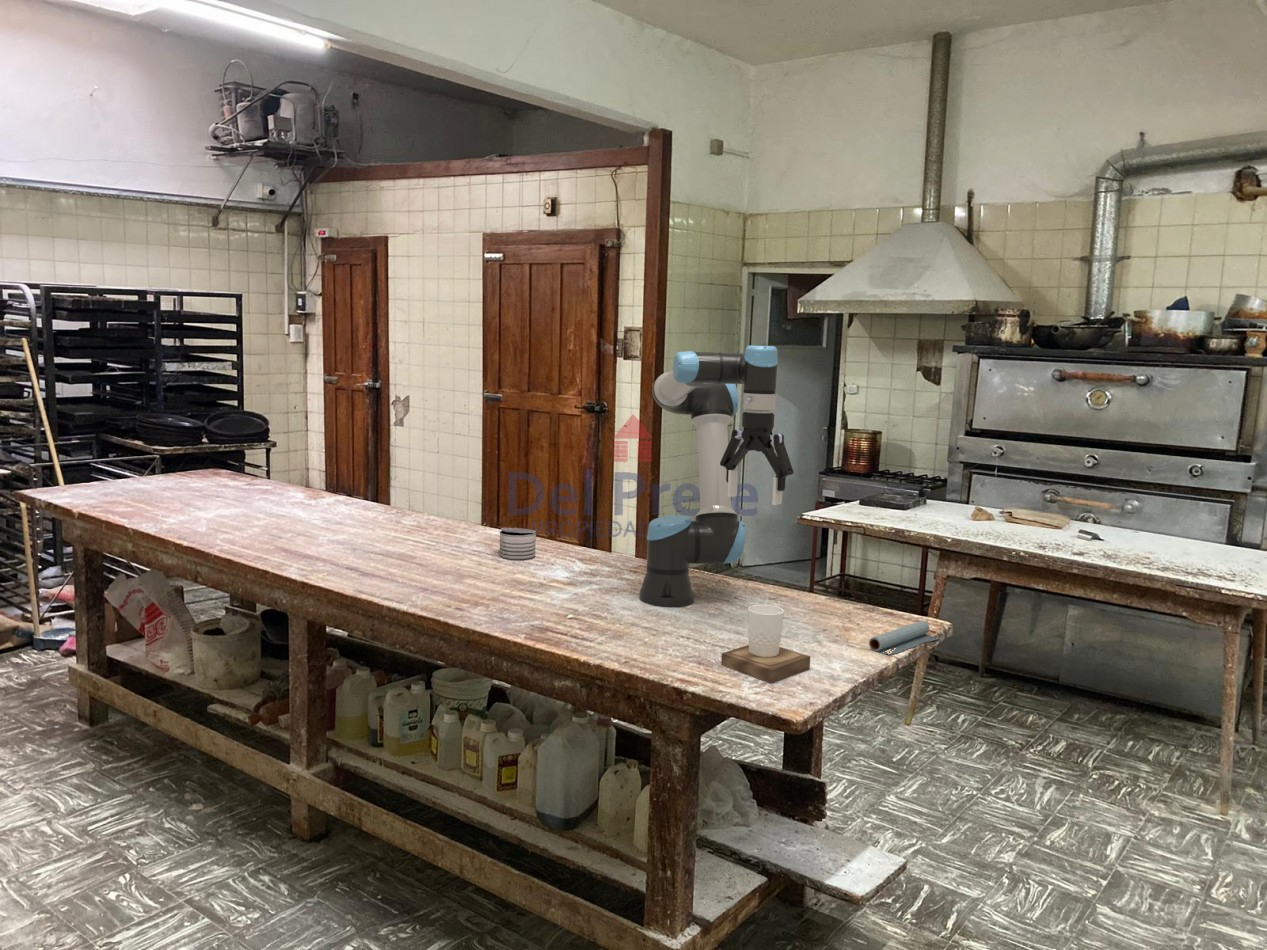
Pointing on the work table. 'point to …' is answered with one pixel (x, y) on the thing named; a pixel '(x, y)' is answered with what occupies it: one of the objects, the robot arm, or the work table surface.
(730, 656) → the base
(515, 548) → the can
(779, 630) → the white cup
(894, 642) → the aluminum foil
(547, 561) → the work table surface
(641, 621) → the work table surface
